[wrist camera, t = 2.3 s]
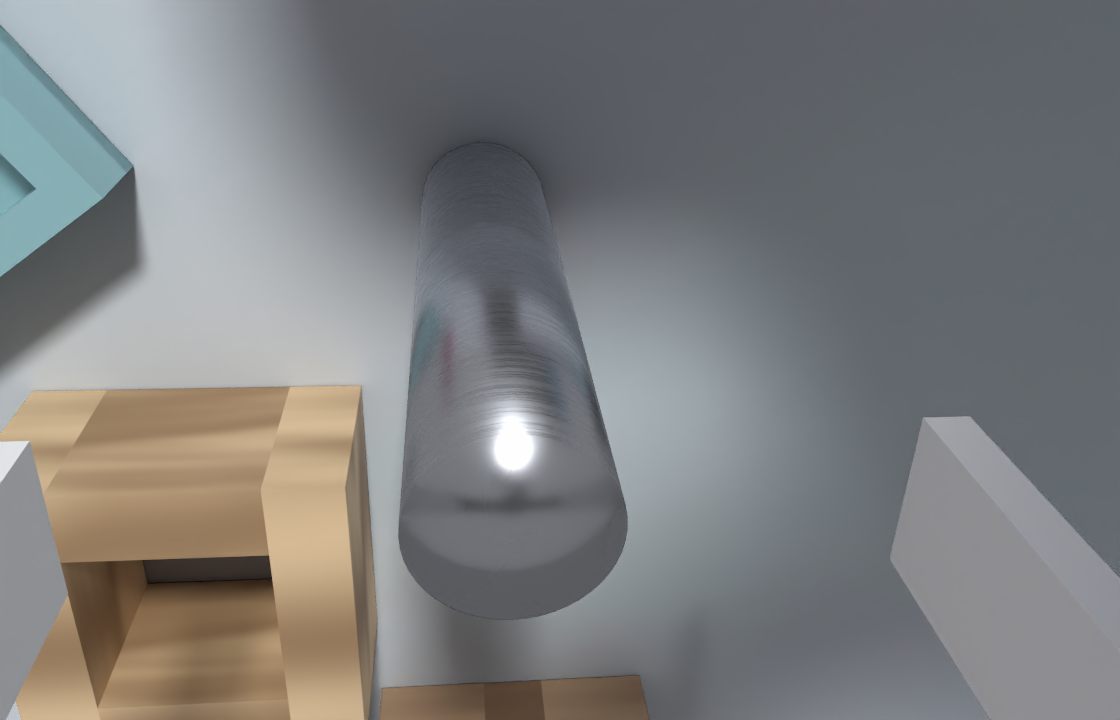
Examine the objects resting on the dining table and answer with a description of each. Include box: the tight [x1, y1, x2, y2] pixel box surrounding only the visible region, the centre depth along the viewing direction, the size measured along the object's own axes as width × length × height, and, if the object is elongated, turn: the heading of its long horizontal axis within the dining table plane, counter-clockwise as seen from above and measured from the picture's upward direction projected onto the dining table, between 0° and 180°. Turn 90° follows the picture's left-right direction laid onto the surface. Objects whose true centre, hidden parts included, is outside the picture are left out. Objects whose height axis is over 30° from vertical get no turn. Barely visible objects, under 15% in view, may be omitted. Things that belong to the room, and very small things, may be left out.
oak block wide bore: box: [0, 386, 377, 720], centre depth 28 cm, size 9×9×5 cm
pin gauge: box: [398, 143, 627, 620], centre depth 20 cm, size 3×3×14 cm
